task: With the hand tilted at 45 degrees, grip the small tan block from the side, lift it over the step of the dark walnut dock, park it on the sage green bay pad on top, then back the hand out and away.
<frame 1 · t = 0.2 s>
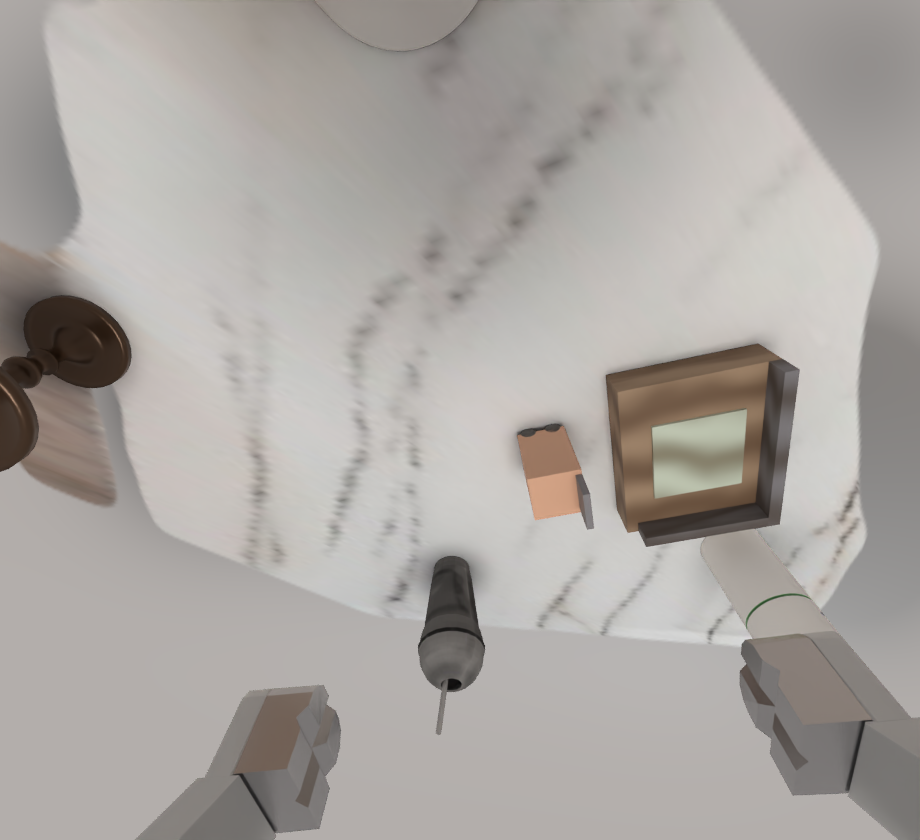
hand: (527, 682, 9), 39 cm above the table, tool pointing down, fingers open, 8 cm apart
candlestick: (83, 341, 47), on the table
beverage cup: (451, 567, 62), on the table
tan block: (542, 445, 53), on the table
dock: (680, 434, 52), on the table
cylindrical container: (728, 543, 61), on the table
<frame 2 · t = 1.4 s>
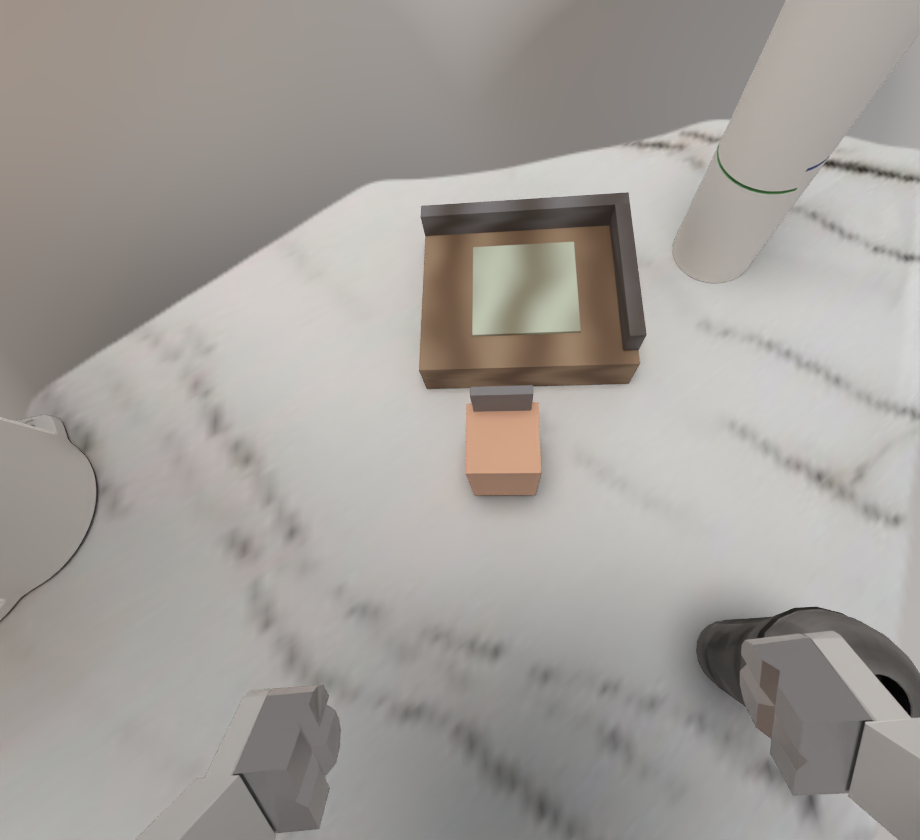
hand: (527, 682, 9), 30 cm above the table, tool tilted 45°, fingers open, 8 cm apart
beverage cup: (728, 654, 35), on the table
tan block: (504, 467, 41), on the table
dock: (523, 313, 46), on the table
cylindrical container: (710, 252, 46), on the table
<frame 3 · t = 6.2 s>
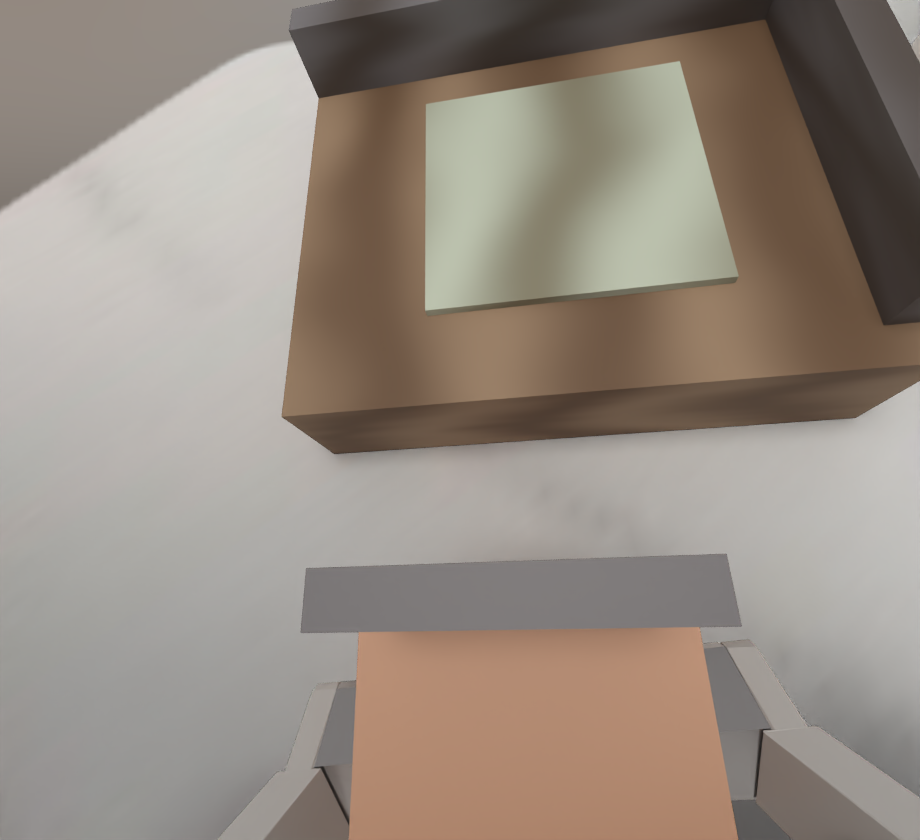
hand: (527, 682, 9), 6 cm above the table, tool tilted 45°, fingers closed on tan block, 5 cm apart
tan block: (535, 674, 15), on the table, touching gripper
dock: (556, 263, 20), on the table
when the fingers open (12 cm above the table, at t = 12.2 s): tan block drops 1 cm, resting on dock.
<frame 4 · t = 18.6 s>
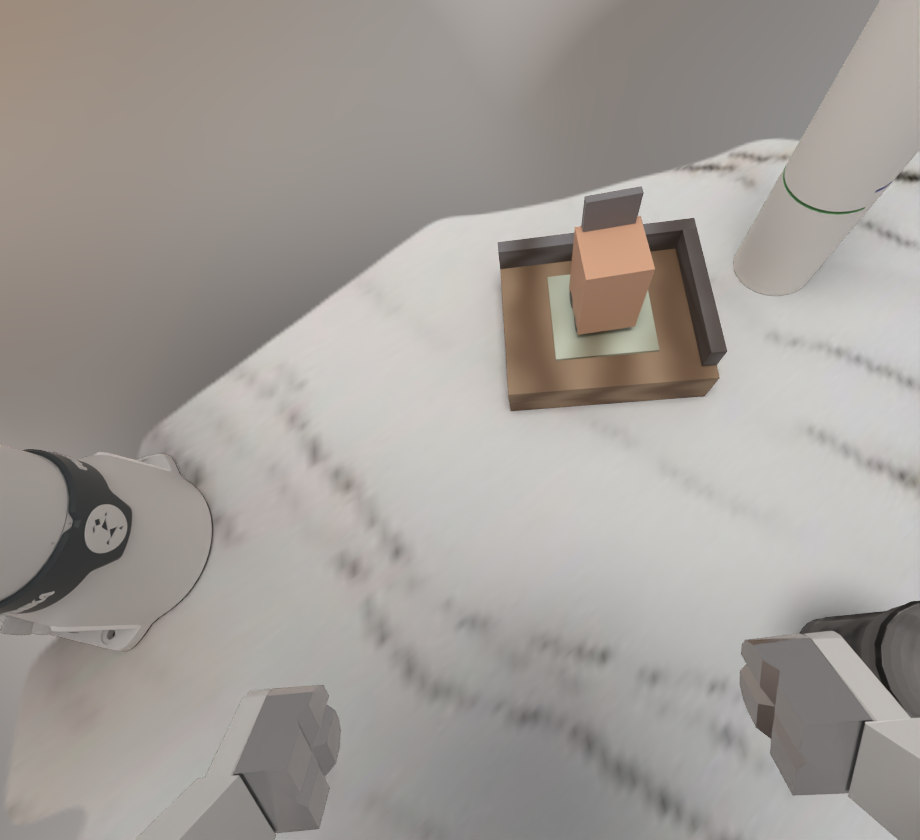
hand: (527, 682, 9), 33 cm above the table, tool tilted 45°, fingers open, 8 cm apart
beverage cup: (830, 650, 37), on the table
tan block: (600, 311, 45), point 4 cm above the table, touching dock
dock: (595, 335, 49), on the table
cylindrical container: (771, 266, 48), on the table
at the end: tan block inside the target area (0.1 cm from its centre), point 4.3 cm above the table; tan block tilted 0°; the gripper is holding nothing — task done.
